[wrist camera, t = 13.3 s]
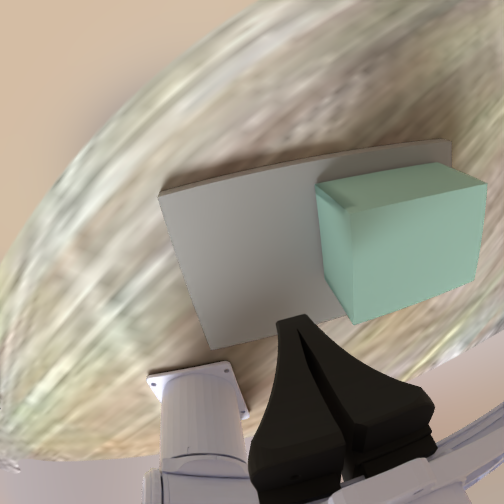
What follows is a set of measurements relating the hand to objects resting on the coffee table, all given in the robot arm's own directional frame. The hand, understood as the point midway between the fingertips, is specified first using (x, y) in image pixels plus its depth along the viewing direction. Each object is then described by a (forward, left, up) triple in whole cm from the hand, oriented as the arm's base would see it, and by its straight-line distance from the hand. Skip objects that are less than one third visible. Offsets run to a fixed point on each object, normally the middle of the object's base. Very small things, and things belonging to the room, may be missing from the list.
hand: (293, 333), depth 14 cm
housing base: (-2, -5, -10) cm, 11 cm away
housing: (0, -9, -8) cm, 12 cm away
